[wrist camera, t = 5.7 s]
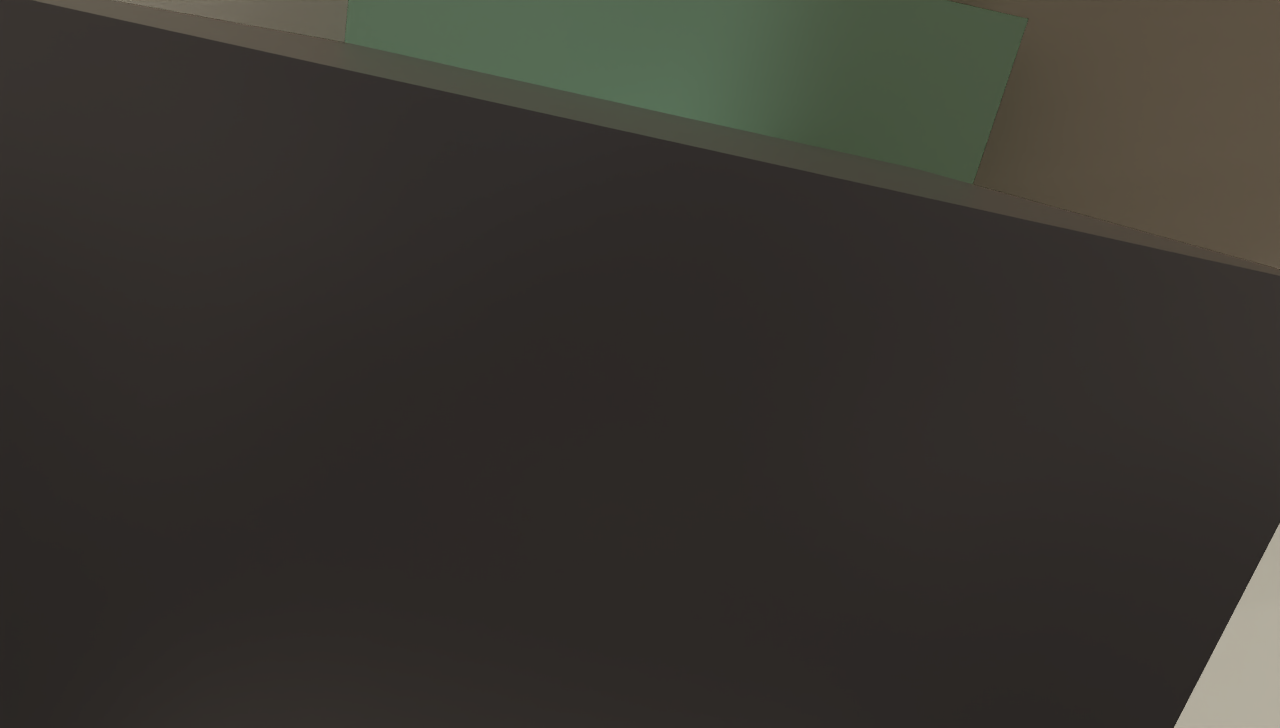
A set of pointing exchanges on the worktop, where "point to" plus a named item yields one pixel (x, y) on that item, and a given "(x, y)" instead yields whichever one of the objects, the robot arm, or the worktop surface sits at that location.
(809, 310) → the block
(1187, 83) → the worktop surface
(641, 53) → the board
